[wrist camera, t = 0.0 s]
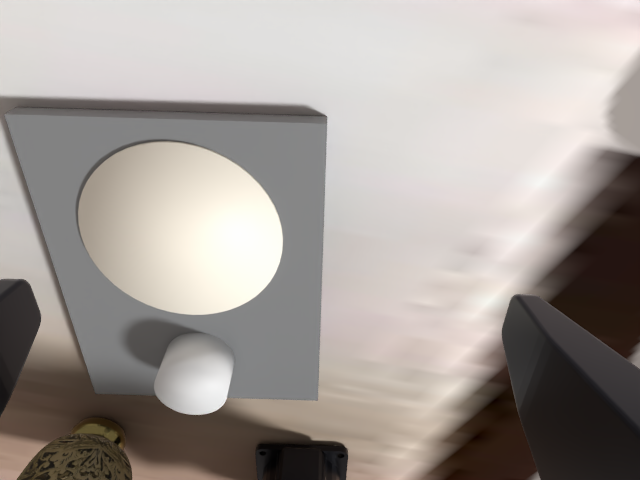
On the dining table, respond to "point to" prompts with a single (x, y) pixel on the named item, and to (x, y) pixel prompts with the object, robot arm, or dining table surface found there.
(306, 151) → the carrier plate
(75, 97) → the dining table surface
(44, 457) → the cup
